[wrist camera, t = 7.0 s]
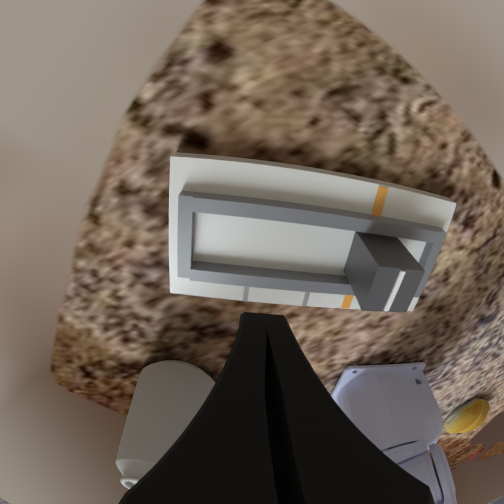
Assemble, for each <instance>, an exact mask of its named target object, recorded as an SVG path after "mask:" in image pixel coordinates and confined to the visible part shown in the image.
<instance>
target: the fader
mask: <svg viewBox="0 0 504 504" xmlns="http://www.w3.org/2000/svg"><path fill="white" fill-rule="evenodd" d="M344 273H345V275H346V277H347V279H348V281H349V283H350V286H351V288H352V290H353V292H354V294H355V297H356V299H357V301H358V303H359V306H360V308H361V310H362V311H387V312H407V310H408V308H409V305H410V303H411V301H412V299H413V297H414V295H415V293H416V291H417V289H418V286H419V284H420V282H421V280H422V277H423V275H424V273H425V270H424V269H423V268H422V267H421V265H420V264H419V263H418V262H417V260H416V259H415V258H414V257H413V256H412V254H411V253H410V252H409V251H408V250H407V248H406V247H405V246H404V245H403V244H402V243H401V241H400V240H399V239H398V238H397V237H391V236H384V235H378V234H371V233H364V232H357V231H355V234H354V237H353V241H352V244H351V248H350V251H349V254H348V257H347V261H346V264H345V267H344Z"/></svg>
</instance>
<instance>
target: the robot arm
mask: <svg viewBox="0 0 504 504" xmlns="http://www.w3.org/2000/svg"><path fill="white" fill-rule="evenodd" d="M425 367H426V364H425V363H424V362H417V363H404V364H388V365H364V366H348V367H346V368H345V369H344V371H343V373H342V375H341V377H340V379H339V381H338V382H337V384H336V386H335V388H334V390H333V391H332V393H331V395H330V394H329V392H328V391H327V389H326V388H325V387H324V385H323V384H322V382H321V381H320V379H319V378H318V376H317V375H316V373H315V372H314V370H313V368H312V367H311V365H310V363H309V362H308V360H307V358H306V357H305V355H304V353H303V351H302V350H301V348H300V346H299V344H298V342H297V340H296V338H295V336H294V334H293V332H292V330H291V328H290V326H289V324H288V322H287V320H286V318H285V317H284V315H273V314H261V313H249V312H244V313H242V314H241V315H240V323H239V329H238V332H237V336H236V339H235V342H234V344H233V347H232V349H231V352H230V354H229V356H228V359H227V361H226V363H225V365H224V367H223V369H222V371H221V373H220V375H219V377H218V379H217V381H216V383H215V385H214V386H213V388H212V390H211V391H210V393H209V395H208V396H207V398H206V400H205V401H204V403H203V404H202V406H201V408H200V409H199V411H198V412H197V414H196V415H195V416H194V418H193V419H192V420H191V422H190V423H189V425H188V426H187V427H186V429H185V430H184V431H183V433H182V434H181V435H180V437H179V438H178V439H177V440H176V442H175V443H174V444H173V445H172V446H171V447H170V448H169V450H168V451H167V452H166V453H165V454H164V455H163V456H162V458H161V459H160V460H159V461H158V462H157V463H156V464H155V465H154V466H153V467H152V468H151V469H150V470H149V471H148V472H147V473H146V474H145V475H144V476H143V477H142V478H141V479H140V480H139V481H138V482H137V483H136V484H135V485H134V486H132V487H131V488H130V489H129V490H128V491H127V492H126V493H125V494H124V496H123V497H122V499H121V500H120V502H119V504H457V501H456V497H455V486H454V482H453V478H452V475H451V471H450V468H449V465H448V462H447V459H446V456H445V454H444V451H443V449H442V447H441V446H440V445H436V443H437V441H438V440H439V438H440V435H441V431H442V416H441V412H440V409H439V407H438V404H437V402H436V400H435V397H434V395H433V393H432V390H431V388H430V386H429V384H428V382H427V379H426V377H425V375H424V373H423V370H424V368H425ZM429 449H430V452H431V458H432V461H433V464H434V465H433V464H432V461H431V458H430V454H429V451H428V450H429ZM439 486H440V488H441V491H440V488H439ZM441 492H442V495H441ZM0 504H9V503H8V502H6V501H5V500H3V499H2V498H0ZM488 504H504V495H503V496H501V497H500V498H497V499H495V500H494V501H492V502H490V503H488Z"/></svg>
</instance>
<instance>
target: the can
mask: <svg viewBox="0 0 504 504" xmlns="http://www.w3.org/2000/svg"><path fill="white" fill-rule="evenodd" d="M214 385H215V382H214V380H213V379H212V378H211V377H210V376H209V375H207V374H206V373H205V372H204V371H203V370H201V369H200V368H198V367H197V366H195V365H192V364H190V363H187V362H183V361H178V360H164V361H160V362H157V363H153V364H149V365H148V366H146V367H145V368H143V370H142V371H141V373H140V376H139V379H138V382H137V386H136V389H135V392H134V396H133V399H132V402H131V406H130V409H129V413H128V417H127V420H126V424H125V427H124V431H123V435H122V439H121V443H120V447H119V451H118V455H117V459H116V465H117V467H118V469H119V470H120V472H121V473H122V475H123V478H122V479H120V482H121V483H122V485H124V486H125V487H127V488H128V489H130V488H131V487H132V486H134V485H135V484H136V483H137V482H138V481H139V480H140V479H141V478H142V477H143V476H144V475H145V474H146V473H147V472H148V471H149V470H150V469H151V468H152V467H153V466H154V465H155V464H156V463H157V462H158V461H159V460H160V459H161V458H162V456H163V455H164V454H165V453H166V452H167V451H168V450H169V448H170V447H171V446H172V445H173V444H174V443H175V442H176V440H177V439H178V438H179V437H180V435H181V434H182V433H183V431H184V430H185V429H186V427H187V426H188V425H189V423H190V422H191V420H192V419H193V418H194V416H195V415H196V414H197V412H198V411H199V409H200V408H201V406H202V404H203V403H204V401H205V400H206V398H207V396H208V395H209V393H210V391H211V390H212V388H213V386H214Z"/></svg>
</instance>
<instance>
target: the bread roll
mask: <svg viewBox="0 0 504 504" xmlns="http://www.w3.org/2000/svg"><path fill="white" fill-rule="evenodd" d="M488 411H489V403H488V401H486V400H484V399H479V398H475V399H472V400H470V401H469V402H467V403H465V404H464V405H462V406H460V407H459V408H457V409H456V410H455V411H453V412H452V413H451V414H450V415H449V416H448V418H447V419H446V421H445V423H444V426H445V430H446V431H447V432H448V433H451V434H453V433H457V432H458V433H465V432H469V431H472V430H474V429H475V428H477V427H478V426H479V425H481V423H482V422H483V421H484V419H485V418H486V416H487V413H488Z"/></svg>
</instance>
